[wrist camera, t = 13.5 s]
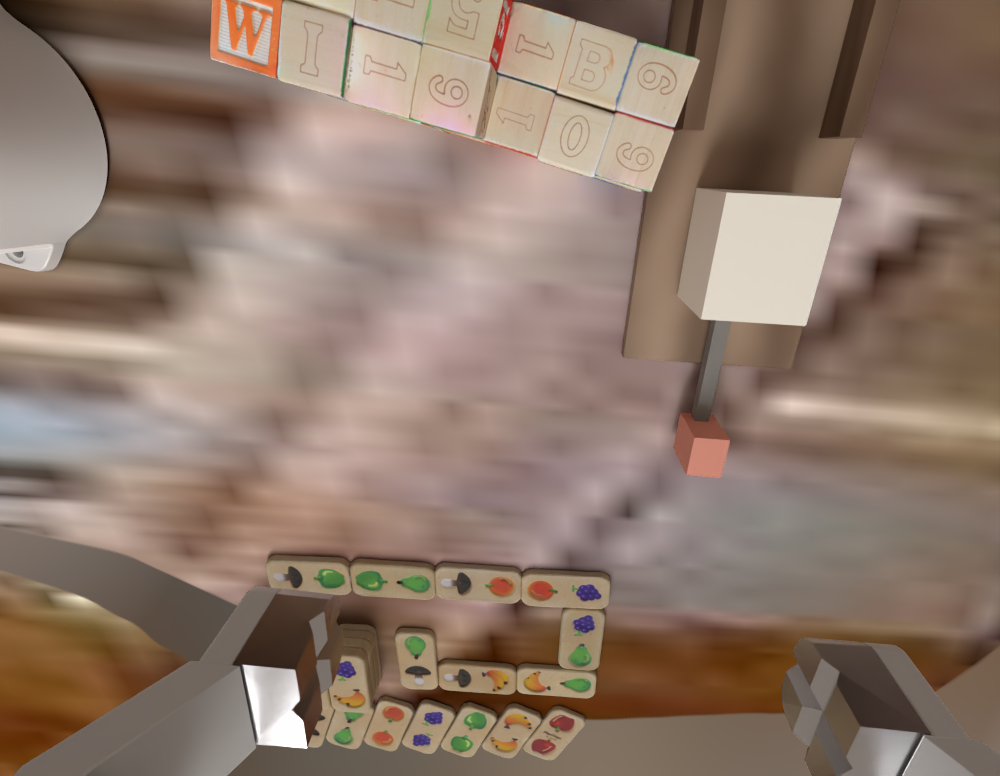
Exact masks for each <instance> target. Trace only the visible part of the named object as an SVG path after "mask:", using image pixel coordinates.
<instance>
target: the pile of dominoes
mask: <svg viewBox="0 0 1000 776" xmlns="http://www.w3.org/2000/svg"><path fill="white" fill-rule="evenodd" d="M265 567H266V572H267V576H268V580H269V584H270V587H271V588H279V589H291V590H300V591H308V592H317V593H325V594H333V595H346V594H349V593H350V592H351V590H352V589H353V591H354V592H355V593H357V594H358V595H361V596H374V597H391V598H408V599H423V600H428V599H432V598H433V597H434V596H435V595H436V594H437V595H438V596H439V597H440V598H443V599H450V600H465V601H481V602H497V603H515V602H517V601H519V599H520V598H521V599H522V601H523V602H524V603H525V604H527V605H529V606H543V607H564V608H563V610H562V616H561V628H560V640H559V652H558V661H559V664H560V665H558V666H557V665H544V664H530V663H524V664H520V665H519V666H518V667H517V668H516V667H515V666H513V665H511V664H507V663H494V662H480V661H466V660H453V659H444V660H441V661H440V662H438V660H437V649H436V639H435V634H434V633H433V632H432V631H431V630H429V629H422V628H399V629H398V630H397V631H396V634H395V643H396V650H397V657H398V665H399V672H400V680H401V684H402V685H403V686H404V687H406V688H409V689H434V688H436V687H437V686H438V685H440V687H441V688H443V689H445V690H453V691H466V692H480V693H494V694H512V693H514V692H515V690H516V689H517V690H518V691H519V692H521V693H523V694H535V695H550V696H564V697H577V698H590V697H592V696H593V695H594V694H595V688H596V678H597V675H596V672H595V670H594V669H596V668H597V667H598V666H599V663H600V654H601V646H602V639H603V631H604V623H605V612H604V610H603V608H604V607H606V606H607V605H608V603H609V596H610V585H611V584H610V578H609V576H608V575H607V574H605V573H602V572H582V571H563V570H543V569H529V570H526V571H524V572H523V573H522V572H521V571H520V570H519V569H517V568H515V567H507V566H491V565H475V564H459V563H440V564H438V565H437V566H436V567H434V566H433V565H431V564H429V563H422V562H406V561H391V560H376V559H356V560H354V561H353V562H352V563H351V562H349V561H347V560H346V559H344V558H339V557H316V556H292V555H273V556H271V557H270V558H269V559H268V561H267V563H266V565H265ZM339 626H340V627H341V628H342V629H343V653H342V657H341V661H340V665H339V670H338V672H337V675H336V678H335V680H334V683H333V685H332V686H331V687H330V688H329V689H328V690H326V691H325V692H324V693H323V694H321V699H322V708H323V710H322V713H321V715H320V718H319V720H318V722H317V725H316V727H315V730H314V732H313V735H312V737H311V739H310V742H309V744H308V746H309V747H315V748H317V747H320V746H321V745H322V743H323V742H324V739H325V737H326V738H327V740H328V741H329V742H330V743H332V744H335V745H339V746H342V747H346V748H349V749H357V748H358V747H359V746H360V745H361V743H362V741H363V739H364V741H365V742H366V743H367V744H368V745H370V746H373V747H377V748H380V749H383V750H386V751H394V750H396V749H397V748H398V746H399V744H400V742H401V741H402V743H403V744H404V745H405V746H406V747H408V748H412V749H414V750H417V751H420V752H423V753H427V754H429V753H434V752H435V751H436V749H437V747H438V746H439V744H440V743H441V746H442V748H443V749H444V750H446V751H449V752H452V753H455V754H457V755H460V756H463V757H471V756H473V755H474V754H475V752H476V751H477V749H478V748H479V746H480V745H481V744H482V746H483V748H484V749H485V750H486V751H489V752H491V753H494V754H496V755H499V756H502V757H505V758H512V757H514V756H515V755H516V754H517V753H518V751H519V750H520V748H521V747H522V746H523V748H524V750H525V751H526V752H527V753H529V754H532V755H534V756H537V757H539V758H542V759H545V760H553V759H555V758H556V757H557V756H558V755H559V754H560V753H561V752H562V750H563V749H564V748H565V747H566V746H567V745H568V744H569V742H570V741H571V740H572V739H573V738H574V737H575V736H576V734H577V733H578V732H579V731H580V730H581V729H582V727H583V726H584V725H585V717H584V716H583V715H581V714H579V713H577V712H574V711H572V710H570V709H567V708H565V707H562V706H554V707H552V708H551V709H550V710H549V711H548V712H547V714H546V715H545V716H544V717H543V718H542V716H541V714H540V713H539V712H537V711H534V710H532V709H529V708H527V707H524V706H522V705H519V704H515V703H513V704H509V705H508V706H507V707H506V708H505V709H504V711H503V712H502V713H501V715H500V716H499V717H497V714H496V712H495V711H493V710H491V709H488V708H485V707H483V706H480V705H477V704H474V703H470V702H468V703H464V704H463V705H462V706H461V708H460V709H459V711H458V712H457V714H456V712H455V710H454V709H453V708H452V707H450V706H447V705H444V704H441V703H438V702H435V701H432V700H429V699H425V700H422V701H421V702H420V703H419V705H418V707H417V709H416V710H414V707H413V706H412V705H411V704H410V703H407V702H404V701H401V700H398V699H394V698H391V697H388V696H384V697H381V698H380V699H379V700H378V702H377V704H376V705H375V704H374V703H373V699H374V696H375V693H376V691H377V689H378V686H379V683H380V681H381V679H382V671H381V663H380V656H379V648H378V640H377V632H376V630H375V629H374V628H373V627H372V626H370V625H362V624H340V625H339Z"/></svg>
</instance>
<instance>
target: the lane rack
mask: <svg viewBox="0 0 1000 776" xmlns="http://www.w3.org/2000/svg"><path fill="white" fill-rule="evenodd" d="M899 3H900V0H673V1H672V8H671V15H670V22H669V28H668V35H667V42H666V49H669V50H672V51H676V52H679V53H682V54H685V55H689V56H692V57H695V58H697V59H699V60H700V61H699V64H698V67H697V70H696V73H695V75H694V78H693V81H692V83H691V86H690V88H689V91H688V94H687V97H686V99H685V102H684V105H683V107H682V110H681V113H680V115H679V118H678V120H677V123H676V125H675V128H674V134H673V136H672V139H671V141H670V144H669V147H668V150H667V152H666V154H665V157H664V160H663V163H662V165H661V168H660V171H659V173H658V176H657V179H656V181H655V184H654V186H653V189H652V192H647V191H645V194H644V201H643V208H642V215H641V222H640V228H639V235H638V242H637V249H636V256H635V263H634V270H633V277H632V284H631V291H630V297H629V304H628V311H627V318H626V325H625V332H624V339H623V346H622V356H623V358H635V359H649V360H664V361H679V362H693V363H702V360H703V355H704V350H705V346H706V341H707V336H708V331H709V326H710V322H711V320H703V319H700V318H699V317H698V316H697V315H696V314H695V313H694V312H693V311H692V310H691V309H690V308H689V307H688V306H687V305H686V304H685V303H684V302H683V301H682V300H681V299H680V298H679V297H678V296H677V294H678V288H679V283H680V277H681V272H682V266H683V261H684V255H685V250H686V244H687V238H688V233H689V227H690V222H691V216H692V211H693V205H694V200H695V194H696V189H697V188H711V189H731V190H750V191H769V192H788V193H799V194H808V195H816V196H825V197H833V198H839V197H840V193H841V190H842V186H843V182H844V179H845V175H846V172H847V168H848V165H849V161H850V158H851V154H852V151H853V147H854V143H855V140H856V138H860V137H861V136H862V133H863V129H864V126H865V122H866V119H867V115H868V112H869V108H870V105H871V101H872V98H873V94H874V91H875V87H876V84H877V80H878V77H879V73H880V70H881V66H882V63H883V59H884V56H885V52H886V49H887V45H888V42H889V38H890V35H891V31H892V28H893V24H894V21H895V17H896V14H897V10H898V7H899ZM802 328H803V326H796V325H781V324H765V323H750V322H734V321H731V324H730V328H729V333H728V337H727V341H726V346H725V350H724V355H723V359H722V365H737V366H751V367H766V368H781V369H791V367H792V363H793V360H794V356H795V353H796V349H797V346H798V342H799V339H800V335H801V331H802Z"/></svg>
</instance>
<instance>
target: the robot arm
mask: <svg viewBox="0 0 1000 776" xmlns="http://www.w3.org/2000/svg"><path fill="white" fill-rule="evenodd" d="M107 166H108V162H107V151H106V144H105V139H104V135H103V131H102V127H101V124H100V121H99V118H98V116H97V113H96V111H95V108H94V106H93V104H92V102H91V100H90V98H89V96H88V94H87V92H86V91H85V89H84V87H83V85H82V84H81V82H80V81H79V79H78V78H77V76H76V75H75V74H74V72H73V71H72V69H71V68H70V67H69V66H68V64H67V63H66V62H65V61H64V60H63V59H62V57H61V56H60V55H59V54H58V53H57V52H56V51H55V50H54V49H53V48H52V47H51V46H50V45H49V44H48V43H46V42H45V41H44V40H43V39H42V38H41V37H39V36H38V35H37V34H35V33H34V32H33V31H31V30H30V29H28V28H27V27H26V26H24V25H23V24H21V23H20V22H19V21H17V20H16V19H15V18H14V17H12V16H11V15H10V14H9V13H8V12H7V11H6V10H4V8H3V7H2V6H1V4H0V263H4V264H7V265H11V266H15V267H19V268H23V269H27V270H31V271H48V270H52V269H54V268H55V267H56V266H57V265H58V263H59V261H60V259H61V257H62V254H63V251H64V248H65V245H66V242H67V241H68V239H69V238H70V237H71V236H72V235H73V234H74V233H76V232H77V231H78V230H79V229H81V228H82V227H83V226H84V225H85V224H86V223H87V222H88V221H89V220H90V219H91V218H92V217H93V215H94V214H95V212H96V211H97V209H98V207H99V205H100V203H101V200H102V198H103V195H104V191H105V187H106V181H107ZM22 251H23V253H22ZM340 611H341V608H340V601H339V597H338V596H336V595H333V594H325V593H317V592H308V591H300V590H291V589H279V588H270V587H262V586H255V587H254V588H252V589H251V590H249V591H248V592H247V593H246V595H245V596H244V598H243V599H242V600H241V602H240V603H239V605H238V606H237V608H236V609H235V611H234V612H233V614H232V615H231V616H230V618H229V619H228V621H227V622H226V623H225V625H224V627H223V628H222V629H221V631H220V632H219V633H218V635H217V636H216V638H215V639H214V641H213V642H212V644H211V645H210V646H209V648H208V649H207V651H206V652H205V654H204V655H203V657H202V658H201V659H200V661H199V662H195V661H190V662H188V663H186V664H185V665H183V666H182V667H180V668H178V669H177V670H175V671H174V672H172V673H170V674H169V675H167V676H166V677H164V678H162V679H161V680H159V681H158V682H156V683H154V684H153V685H151V686H150V687H148V688H146V689H145V690H143V691H142V692H140V693H138V694H137V695H135V696H134V697H132V698H130V699H129V700H127V701H126V702H124V703H122V704H121V705H119V706H118V707H116V708H114V709H113V710H111V711H110V712H108V713H106V714H105V715H103V716H102V717H100V718H98V719H97V720H95V721H94V722H92V723H90V724H89V725H87V726H86V727H84V728H82V729H81V730H79V731H78V732H76V733H74V734H73V735H71V736H70V737H68V738H66V739H65V740H63V741H62V742H60V743H58V744H57V745H55V746H54V747H52V748H50V749H49V750H47V751H46V752H44V753H42V754H41V755H39V756H38V757H36V758H34V759H33V760H31V761H30V762H28V763H26V764H25V765H23V766H22V767H21V768H20V769H19V770H18V771H17V773H16V774H15V775H14V776H227V775H228V774H229V773H230V772H231V771H232V770H233V769H234V768H235V767H237V766H238V765H239V764H240V763H241V762H242V761H243V760H244V759H245V758H246V757H247V756H248V755H249V754H250V753H251V752H252V751H253V750H254V749H255V748H256V744H261V745H273V746H287V747H299V748H307V747H308V744H309V742H310V739H311V737H312V735H313V732H314V730H315V727H316V725H317V722H318V720H319V718H320V715H321V713H322V710H323V708H322V699H321V694H323V693H324V692H325V691H326V690H328V689H329V688H330V687H331V686H332V685H333V683H334V680H335V678H336V675H337V672H338V670H339V665H340V661H341V657H342V653H343V629H342V628H341V627H340V626H339V625H338V624H337V622H336V620H337V618H338V616H339V614H340ZM793 654H794V656H795V658H796V660H797V662H798V664H797V665H795V666H794V667H792V668H791V669H790V670H788V671H787V672H786V674H785V677H784V681H783V684H782V702H783V707H784V711H785V715H786V718H787V720H788V723H789V725H790V727H791V730H792V732H793V733H794V734H795V735H796V736H797V737H798V738H799V739H800V740H801V741H802V742H803V743H805V744H806V745H807V746H808V749H807V753H806V757H805V762H806V764H807V766H808V769H809V771H810V773H811V775H812V776H1000V754H998V753H997V752H996V751H994V750H993V749H991V748H990V747H989V746H987V745H985V744H984V743H983V742H982V741H977V740H970V738H969V737H968V736H967V735H966V733H965V732H964V730H963V729H962V728H961V726H960V725H959V724H958V722H957V721H956V720H955V718H954V717H953V716H952V715H951V713H950V712H949V710H948V709H947V708H946V706H945V705H944V704H943V702H942V701H941V700H940V698H939V697H938V696H937V694H936V693H935V692H934V690H933V689H932V688H931V686H930V685H929V684H928V682H927V681H926V680H925V678H924V677H923V676H922V674H921V673H920V672H919V670H918V669H917V668H916V666H915V665H914V664H913V662H912V661H911V660H910V658H909V657H908V656H907V654H906V653H905V652H904V651H903V650H902V649H900V648H899V647H897V646H896V645H887V644H875V643H860V642H852V641H840V640H828V639H815V638H802V639H801V640H800V641H798V642H797V644H796V647H795V649H794V652H793Z"/></svg>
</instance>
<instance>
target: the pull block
mask: <svg viewBox="0 0 1000 776" xmlns="http://www.w3.org/2000/svg"><path fill="white" fill-rule="evenodd" d="M841 200H842V198H833V197H825V196H816V195H808V194H799V193H788V192H769V191H750V190H731V189H711V188H697V189H696V194H695V200H694V205H693V211H692V216H691V222H690V227H689V233H688V238H687V244H686V250H685V255H684V261H683V266H682V272H681V277H680V283H679V288H678V294H677V296H678V297H679V298H680V299H681V300H682V301H683V302H684V303H685V304H686V305H687V306H688V307H689V308H690V309H691V310H692V311H693V312H694V313H695V314H696V315H697V316H698V317H699V318H700V319H703V320H711V322H710V326H709V331H708V336H707V341H706V346H705V350H704V355H703V360H702V365H701V369H700V374H699V379H698V384H697V388H696V393H695V398H694V403H693V407H692V412H691V413H680V417H679V422H678V427H677V432H676V437H675V442H674V449H675V452H676V454H677V456H678V458H679V460H680V462H681V465H682V467H683V469H684V471H685V473H686V475H692V476H704V477H717V478H721V475H722V471H723V467H724V463H725V459H726V455H727V451H728V447H729V443H730V439H729V438H728V437H727V435H726V434H725V432H724V431H723V429H722V428H721V426H720V425H719V423H718V422H717V420H716V419H715V417H714V416H713V415H710V412H711V408H712V403H713V399H714V395H715V390H716V386H717V381H718V377H719V372H720V368H721V364H722V359H723V355H724V350H725V346H726V341H727V337H728V333H729V328H730V324H731V321H734V322H750V323H765V324H781V325H796V326H806V324H807V320H808V317H809V313H810V310H811V306H812V303H813V299H814V296H815V292H816V288H817V285H818V281H819V278H820V274H821V271H822V267H823V264H824V260H825V257H826V253H827V250H828V246H829V243H830V239H831V236H832V232H833V229H834V225H835V222H836V218H837V215H838V211H839V208H840V204H841Z"/></svg>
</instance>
